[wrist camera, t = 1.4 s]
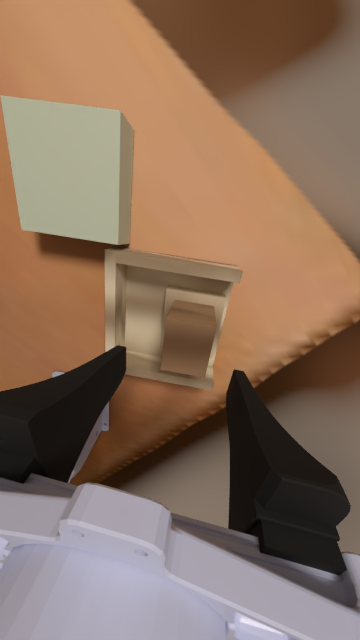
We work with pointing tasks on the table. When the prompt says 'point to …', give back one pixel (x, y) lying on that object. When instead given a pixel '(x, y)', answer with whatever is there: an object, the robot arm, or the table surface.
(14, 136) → the sage stand
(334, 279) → the table surface
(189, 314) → the walnut block
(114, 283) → the birch box
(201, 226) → the table surface
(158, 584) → the robot arm
